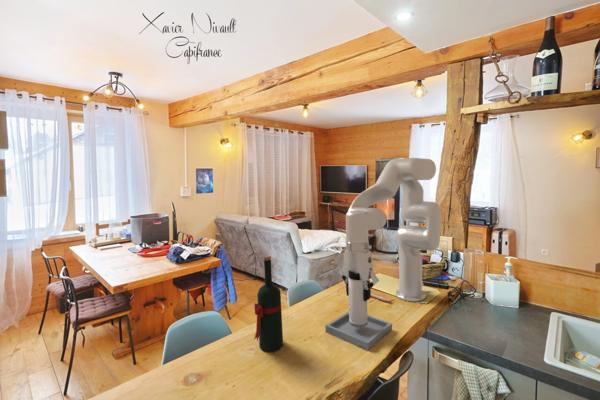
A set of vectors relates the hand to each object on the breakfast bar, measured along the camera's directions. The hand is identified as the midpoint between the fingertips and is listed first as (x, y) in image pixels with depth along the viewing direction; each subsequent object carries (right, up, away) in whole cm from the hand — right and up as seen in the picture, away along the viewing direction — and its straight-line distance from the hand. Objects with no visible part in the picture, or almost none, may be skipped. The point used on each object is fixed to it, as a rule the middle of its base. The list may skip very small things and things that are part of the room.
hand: (358, 296), depth 105 cm
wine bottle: (-31, -15, -6) cm, 34 cm away
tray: (0, -13, +1) cm, 13 cm away
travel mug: (0, -10, +1) cm, 10 cm away
